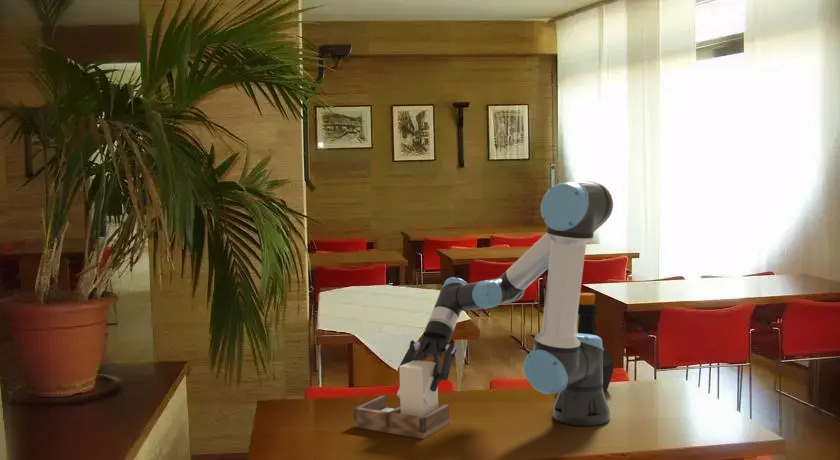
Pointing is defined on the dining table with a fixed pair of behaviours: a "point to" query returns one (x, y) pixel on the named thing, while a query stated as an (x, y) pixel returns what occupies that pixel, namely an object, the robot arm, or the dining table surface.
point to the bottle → (593, 332)
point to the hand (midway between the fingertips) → (412, 399)
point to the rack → (399, 419)
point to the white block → (416, 388)
